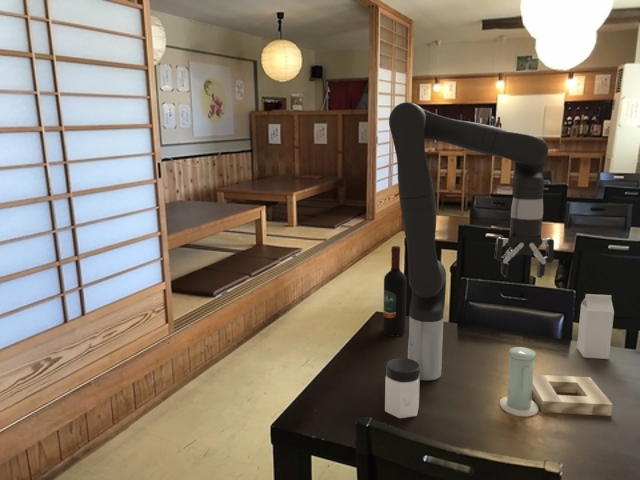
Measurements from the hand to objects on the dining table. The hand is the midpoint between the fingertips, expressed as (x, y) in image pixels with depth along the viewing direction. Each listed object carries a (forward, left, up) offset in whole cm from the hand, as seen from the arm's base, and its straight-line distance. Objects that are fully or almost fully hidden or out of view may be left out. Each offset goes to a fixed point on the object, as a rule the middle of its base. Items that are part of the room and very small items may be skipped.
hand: (522, 276), depth 135 cm
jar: (-31, -17, -30) cm, 47 cm away
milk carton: (+28, +21, -30) cm, 46 cm away
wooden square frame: (+11, -8, -30) cm, 33 cm away
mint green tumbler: (-2, -13, -30) cm, 32 cm away
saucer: (-2, -13, -30) cm, 33 cm away
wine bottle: (-32, +33, -30) cm, 55 cm away
